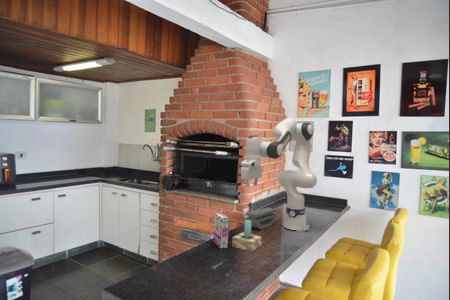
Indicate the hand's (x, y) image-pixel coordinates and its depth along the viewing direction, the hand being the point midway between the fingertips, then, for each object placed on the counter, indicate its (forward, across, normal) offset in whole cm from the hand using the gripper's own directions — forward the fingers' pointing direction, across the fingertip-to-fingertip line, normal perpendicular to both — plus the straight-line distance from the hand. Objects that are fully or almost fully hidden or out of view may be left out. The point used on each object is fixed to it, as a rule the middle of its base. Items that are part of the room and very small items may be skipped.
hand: (251, 186), depth 175 cm
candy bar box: (+31, +20, -7) cm, 38 cm away
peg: (+31, +12, +5) cm, 34 cm away
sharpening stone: (+31, -27, -5) cm, 41 cm away
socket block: (+31, +12, +5) cm, 34 cm away
